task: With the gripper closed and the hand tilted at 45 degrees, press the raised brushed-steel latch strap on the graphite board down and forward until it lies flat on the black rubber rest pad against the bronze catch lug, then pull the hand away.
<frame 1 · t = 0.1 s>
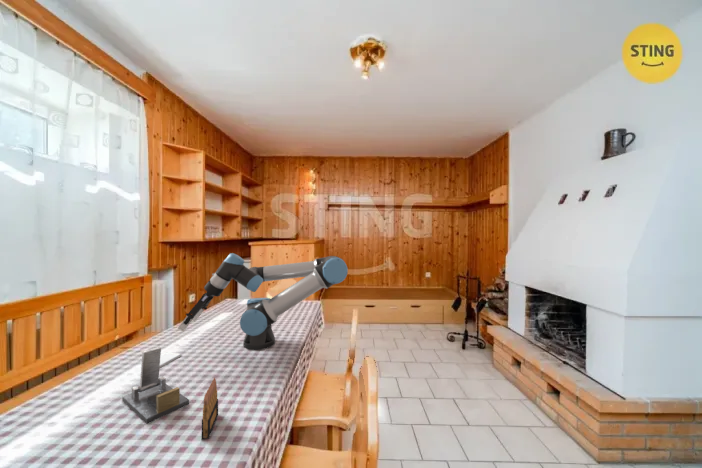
hand: (186, 324, 128), 15 cm above the table, tool tilted 35°, fingers open, 13 cm apart
latch board: (149, 397, 98), on the table
external hard drive: (162, 362, 126), on the table
latch strap: (150, 369, 98), point 10 cm above the table, hinge at 10.0°
ammunition clip: (210, 427, 84), on the table
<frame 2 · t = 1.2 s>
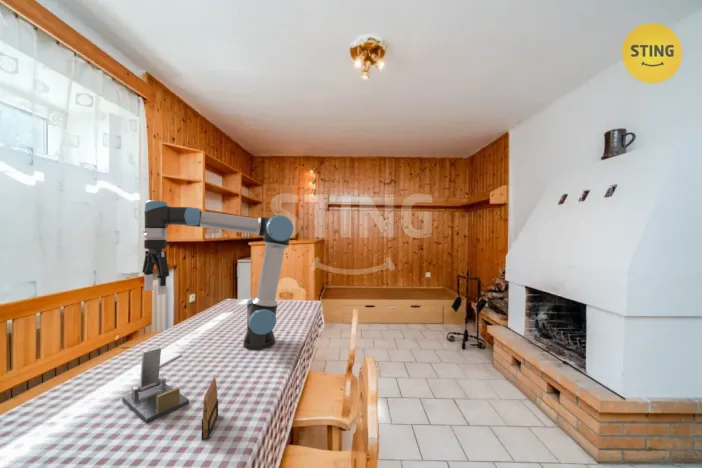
hand: (155, 292, 118), 32 cm above the table, tool pointing down, fingers open, 12 cm apart
nothing on the table moved.
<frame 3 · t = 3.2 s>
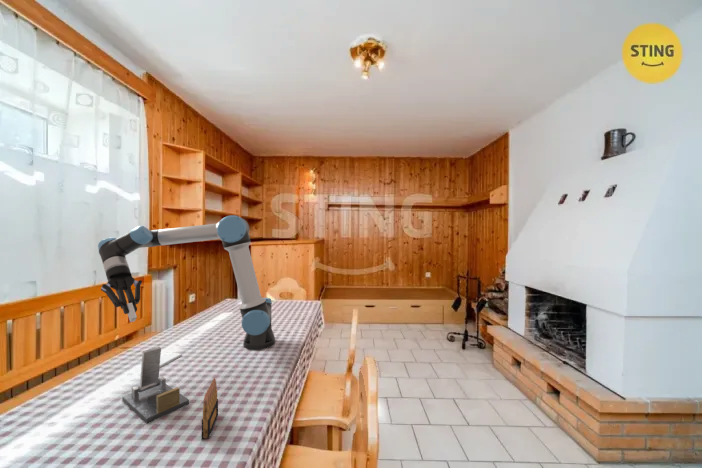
hand: (133, 319, 106), 24 cm above the table, tool tilted 45°, fingers closed
nothing on the table moved.
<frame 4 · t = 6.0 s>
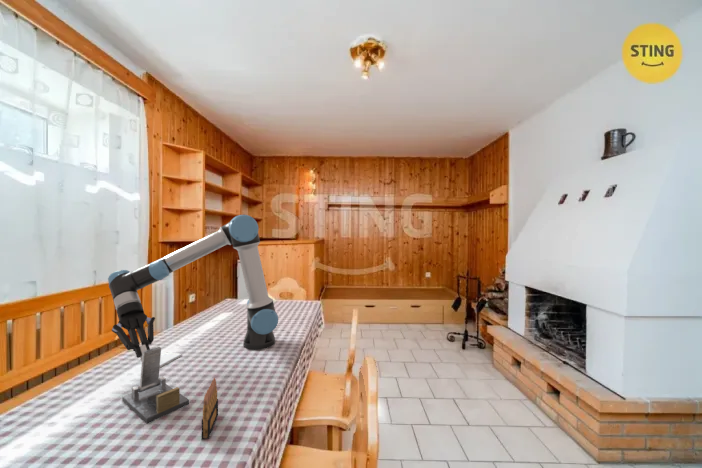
hand: (146, 363, 98), 12 cm above the table, tool tilted 45°, fingers closed
latch strap: (150, 369, 98), point 10 cm above the table, hinge at 10.5°, touching gripper
everything else where it was.
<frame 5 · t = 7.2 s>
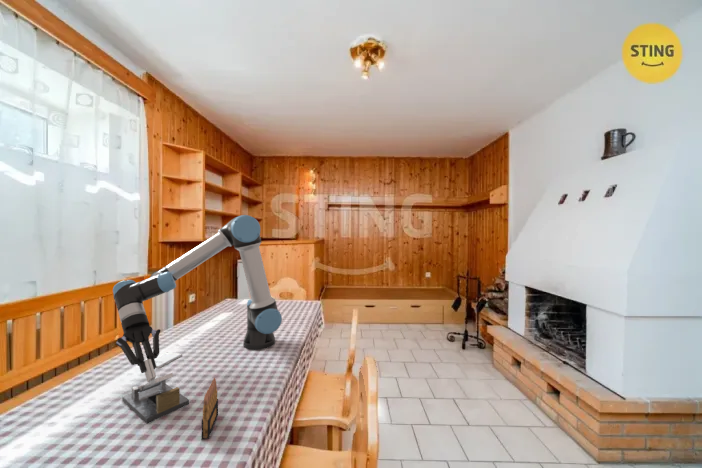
hand: (151, 379, 95), 8 cm above the table, tool tilted 45°, fingers closed
latch strap: (155, 382, 95), point 7 cm above the table, hinge at 62.2°, touching gripper
everything else where it was.
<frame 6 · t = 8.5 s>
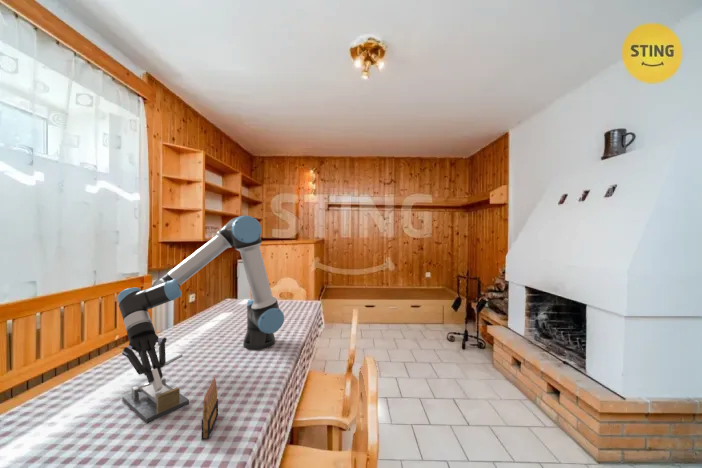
hand: (159, 389, 93), 6 cm above the table, tool tilted 45°, fingers closed
latch strap: (156, 391, 95), point 4 cm above the table, hinge at 90.5°, touching gripper
everything else where it was.
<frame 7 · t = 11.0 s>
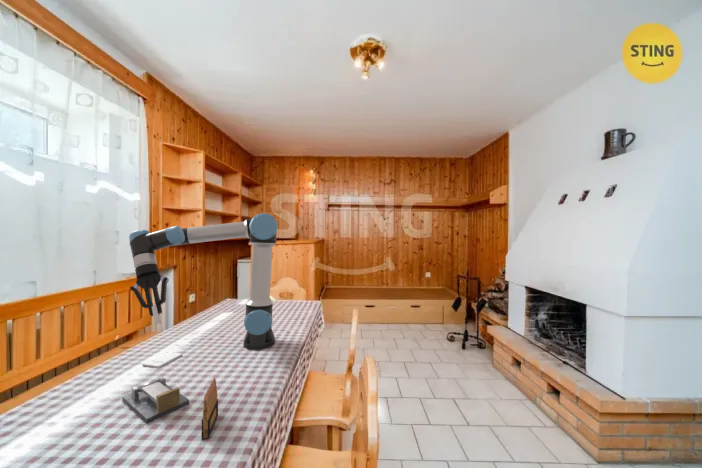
hand: (158, 322, 111), 22 cm above the table, tool tilted 30°, fingers closed
latch strap: (156, 391, 95), point 4 cm above the table, hinge at 90.5°
everything else where it was.
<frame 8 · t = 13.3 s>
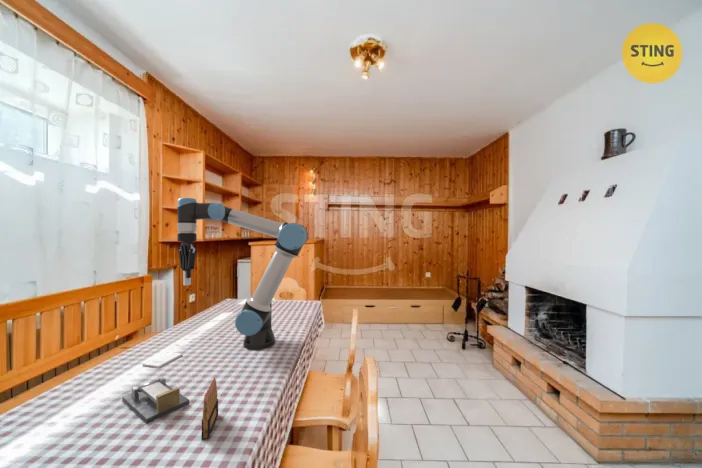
hand: (187, 284, 131), 32 cm above the table, tool pointing down, fingers closed
nothing on the table moved.
at the end: latch strap at +90° (first picture: +10°) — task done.
